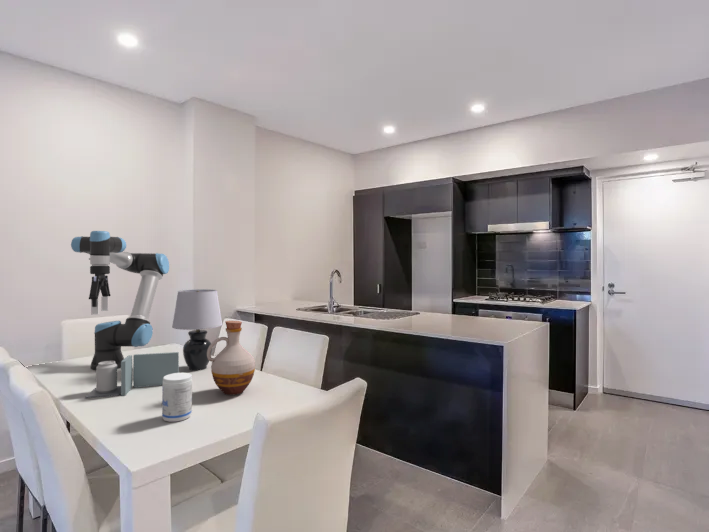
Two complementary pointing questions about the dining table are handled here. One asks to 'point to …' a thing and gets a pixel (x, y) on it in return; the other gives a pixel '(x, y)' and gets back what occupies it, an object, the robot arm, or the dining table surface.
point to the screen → (147, 369)
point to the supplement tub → (177, 397)
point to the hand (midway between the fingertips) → (100, 312)
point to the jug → (232, 362)
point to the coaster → (96, 394)
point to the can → (106, 376)
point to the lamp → (197, 323)
